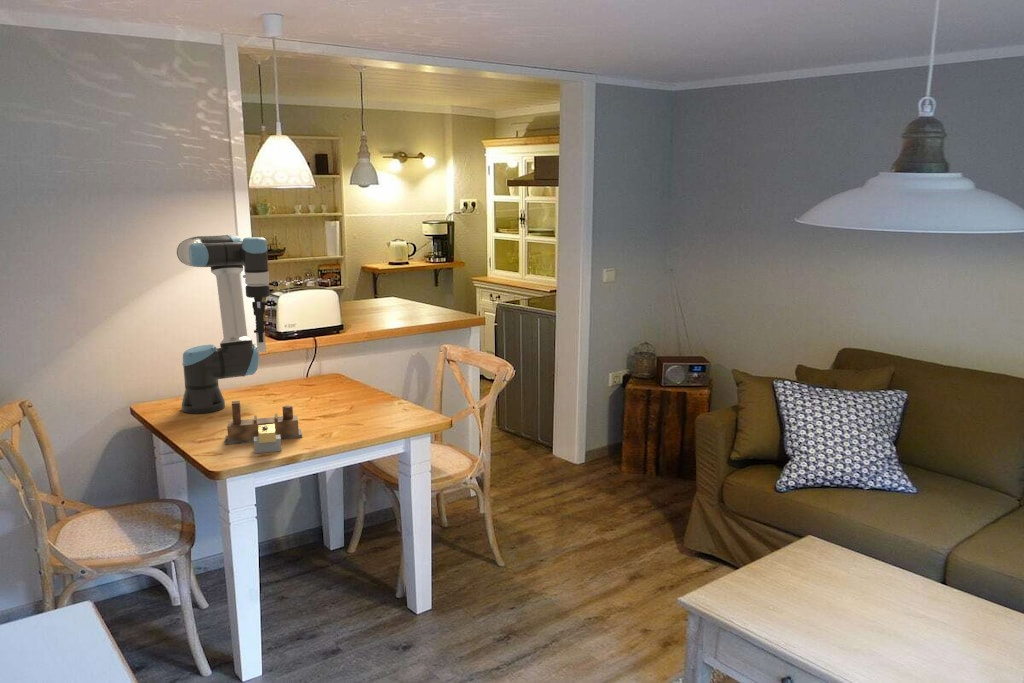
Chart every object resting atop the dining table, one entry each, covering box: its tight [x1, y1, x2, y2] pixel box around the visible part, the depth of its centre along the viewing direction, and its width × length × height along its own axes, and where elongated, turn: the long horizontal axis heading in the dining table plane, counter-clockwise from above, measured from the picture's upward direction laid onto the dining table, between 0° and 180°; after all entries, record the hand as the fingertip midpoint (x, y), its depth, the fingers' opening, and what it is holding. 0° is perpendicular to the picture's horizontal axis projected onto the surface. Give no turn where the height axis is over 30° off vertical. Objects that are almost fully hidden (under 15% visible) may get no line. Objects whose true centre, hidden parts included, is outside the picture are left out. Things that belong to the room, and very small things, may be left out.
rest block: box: [253, 435, 282, 454], centre depth 241 cm, size 4×8×4 cm, turn 109°
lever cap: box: [258, 424, 276, 443], centre depth 240 cm, size 5×9×4 cm, turn 19°
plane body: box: [224, 400, 303, 446], centre depth 251 cm, size 24×6×13 cm, turn 109°
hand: (261, 347), depth 255 cm, fingers open, 13 cm apart
